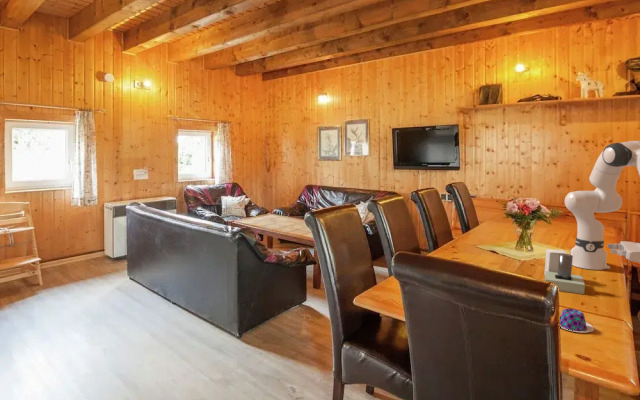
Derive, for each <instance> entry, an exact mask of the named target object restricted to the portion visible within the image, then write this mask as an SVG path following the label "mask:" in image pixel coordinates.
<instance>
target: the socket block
mask: <svg viewBox="0 0 640 400" xmlns="http://www.w3.org/2000/svg"><path fill="white" fill-rule="evenodd" d="M544 273H545V275H544V282H545V281H548V282H552V283H554V284H556V285H557V286H558V288H559V291H560V292H565V293H571V294H579V295H585V287H586V284H585V281H584V278H583V276H582V275H579V274H578V275H577V274H571V281H570V280H563V279H557V275H558V273H556V272H548V271H545V270H544ZM559 291H558V292H559Z"/></svg>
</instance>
